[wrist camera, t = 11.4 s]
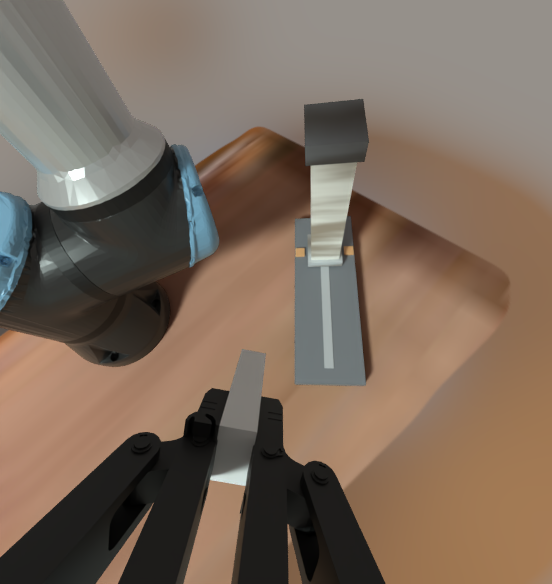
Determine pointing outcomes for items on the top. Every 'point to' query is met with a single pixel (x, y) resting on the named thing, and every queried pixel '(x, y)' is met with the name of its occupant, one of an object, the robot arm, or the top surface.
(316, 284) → the fader console
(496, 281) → the top surface
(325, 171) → the lever
